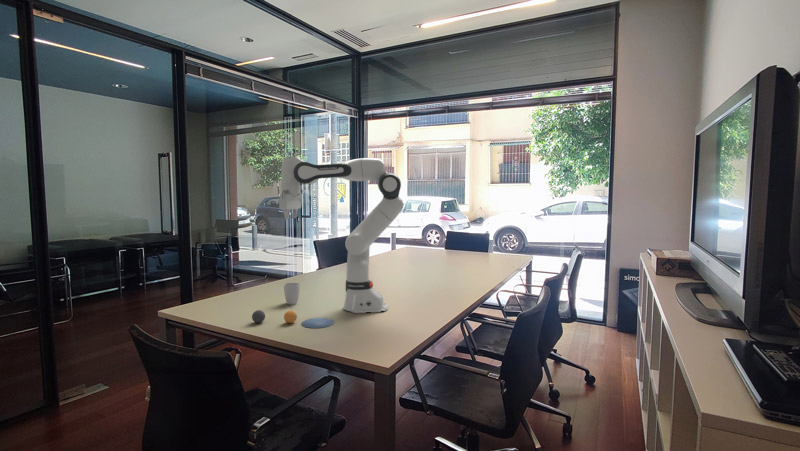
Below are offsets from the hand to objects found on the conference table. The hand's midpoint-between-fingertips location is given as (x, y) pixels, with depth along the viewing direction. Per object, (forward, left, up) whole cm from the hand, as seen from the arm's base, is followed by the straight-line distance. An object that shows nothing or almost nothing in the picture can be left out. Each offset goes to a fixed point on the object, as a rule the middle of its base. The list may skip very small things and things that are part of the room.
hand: (290, 218), depth 192 cm
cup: (+2, -10, -45) cm, 46 cm away
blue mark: (-17, +22, -45) cm, 53 cm away
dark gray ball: (+9, +22, -42) cm, 48 cm away
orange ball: (-5, +22, -42) cm, 48 cm away
